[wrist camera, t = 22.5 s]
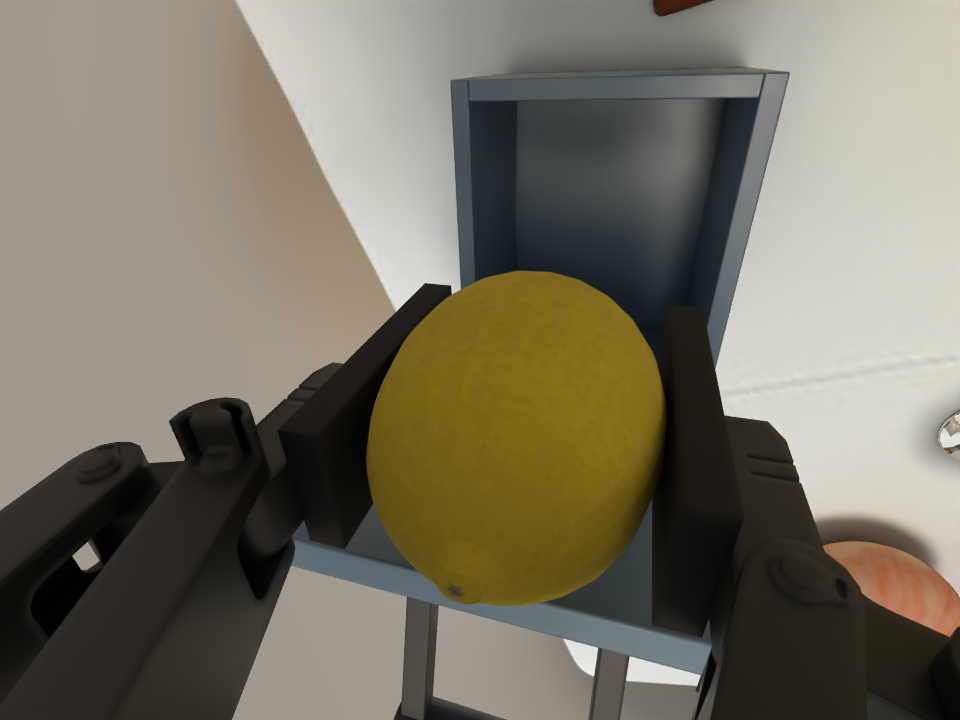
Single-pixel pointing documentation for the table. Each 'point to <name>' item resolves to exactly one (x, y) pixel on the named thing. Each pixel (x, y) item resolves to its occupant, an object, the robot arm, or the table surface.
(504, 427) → the lemon
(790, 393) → the table surface
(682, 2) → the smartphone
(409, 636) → the lid
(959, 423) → the wineglass
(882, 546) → the orange pumpkin
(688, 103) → the blue-grey hollow box
